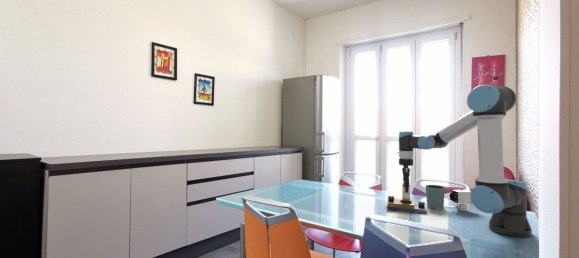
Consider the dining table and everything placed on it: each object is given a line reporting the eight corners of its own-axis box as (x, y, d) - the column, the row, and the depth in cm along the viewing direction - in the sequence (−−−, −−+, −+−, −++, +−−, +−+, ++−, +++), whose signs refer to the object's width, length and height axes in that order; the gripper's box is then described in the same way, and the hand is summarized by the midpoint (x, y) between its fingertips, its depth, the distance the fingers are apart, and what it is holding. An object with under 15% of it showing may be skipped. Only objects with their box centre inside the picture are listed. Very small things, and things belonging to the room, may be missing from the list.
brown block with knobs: (426, 213, 151) (426, 201, 150) (387, 210, 158) (387, 198, 157) (424, 207, 162) (424, 196, 162) (387, 204, 169) (387, 193, 169)
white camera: (474, 211, 155) (474, 189, 155) (454, 211, 154) (454, 190, 154) (467, 208, 160) (467, 187, 160) (448, 208, 159) (448, 187, 159)
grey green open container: (433, 210, 157) (433, 188, 157) (421, 205, 167) (421, 185, 167) (449, 208, 160) (449, 187, 160) (435, 203, 170) (435, 184, 169)
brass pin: (410, 210, 157) (410, 185, 157) (402, 209, 158) (402, 184, 158) (409, 208, 161) (409, 184, 161) (402, 207, 162) (402, 183, 162)
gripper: (398, 155, 172) (398, 190, 173) (399, 160, 149) (399, 200, 149) (411, 156, 170) (411, 191, 170) (414, 161, 146) (414, 201, 147)
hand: (406, 195), depth 160 cm, fingers open, 13 cm apart
